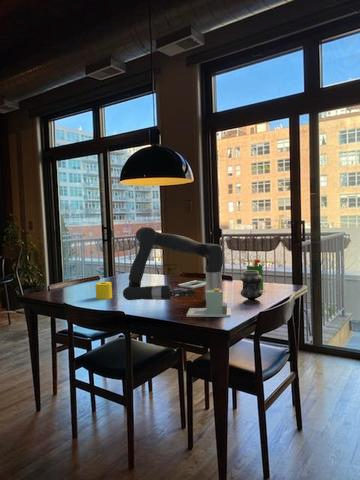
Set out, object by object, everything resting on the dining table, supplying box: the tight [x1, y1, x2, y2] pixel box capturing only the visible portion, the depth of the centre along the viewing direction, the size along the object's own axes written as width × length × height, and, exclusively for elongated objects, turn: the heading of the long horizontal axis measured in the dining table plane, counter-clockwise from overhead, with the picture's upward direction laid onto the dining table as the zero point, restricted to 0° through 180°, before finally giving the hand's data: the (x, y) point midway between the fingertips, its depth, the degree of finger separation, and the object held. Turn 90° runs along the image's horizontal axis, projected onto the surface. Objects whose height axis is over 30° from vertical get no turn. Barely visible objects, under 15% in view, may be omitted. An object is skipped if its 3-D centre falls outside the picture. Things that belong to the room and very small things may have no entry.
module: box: [205, 288, 224, 314], centre depth 190 cm, size 8×6×12 cm
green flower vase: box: [246, 258, 264, 291], centre depth 246 cm, size 10×9×20 cm
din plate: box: [186, 302, 232, 318], centre depth 193 cm, size 22×12×5 cm, turn 81°
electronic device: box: [177, 280, 206, 290], centre depth 268 cm, size 18×2×15 cm
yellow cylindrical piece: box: [95, 281, 113, 301], centre depth 239 cm, size 10×10×9 cm
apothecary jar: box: [239, 269, 263, 306], centre depth 210 cm, size 12×12×18 cm
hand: (194, 291), depth 192 cm, fingers closed
